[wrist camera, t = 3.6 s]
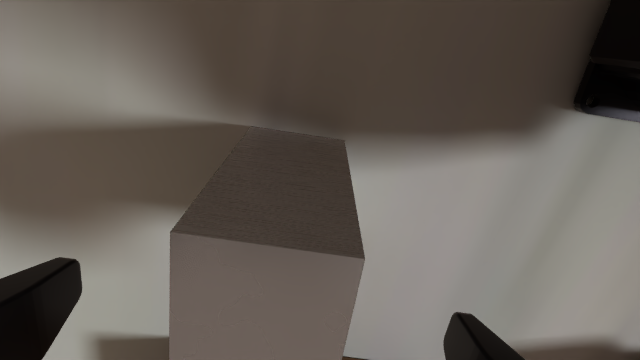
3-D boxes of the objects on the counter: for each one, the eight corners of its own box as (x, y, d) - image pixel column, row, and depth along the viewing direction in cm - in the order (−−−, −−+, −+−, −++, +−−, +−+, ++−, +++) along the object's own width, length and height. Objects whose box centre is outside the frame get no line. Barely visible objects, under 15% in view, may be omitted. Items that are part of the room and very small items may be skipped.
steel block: (344, 140, 16) (365, 259, 8) (329, 222, 18) (333, 396, 9) (251, 126, 16) (170, 231, 8) (244, 210, 17) (169, 376, 9)
